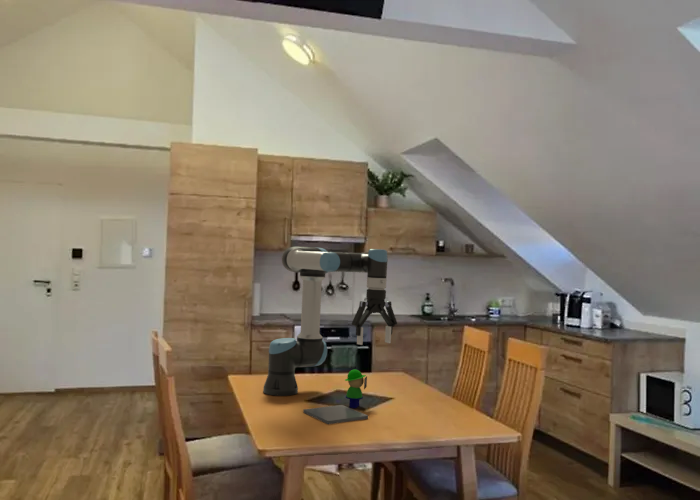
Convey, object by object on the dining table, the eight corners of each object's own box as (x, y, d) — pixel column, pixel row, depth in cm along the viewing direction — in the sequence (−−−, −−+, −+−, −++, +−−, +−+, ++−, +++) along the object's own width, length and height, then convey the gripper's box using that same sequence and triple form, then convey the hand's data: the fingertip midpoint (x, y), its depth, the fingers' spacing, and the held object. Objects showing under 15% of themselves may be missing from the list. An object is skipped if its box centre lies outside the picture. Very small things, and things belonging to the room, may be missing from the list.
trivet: (303, 412, 235) (303, 409, 235) (341, 407, 245) (342, 404, 245) (328, 424, 220) (328, 421, 220) (368, 418, 230) (368, 415, 230)
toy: (362, 409, 243) (364, 372, 243) (341, 407, 245) (343, 370, 245) (366, 404, 252) (367, 368, 252) (345, 402, 254) (347, 366, 254)
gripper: (355, 289, 225) (353, 346, 225) (407, 289, 239) (404, 343, 239) (344, 287, 231) (341, 343, 231) (395, 288, 245) (393, 340, 245)
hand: (373, 343), depth 235 cm, fingers open, 13 cm apart
